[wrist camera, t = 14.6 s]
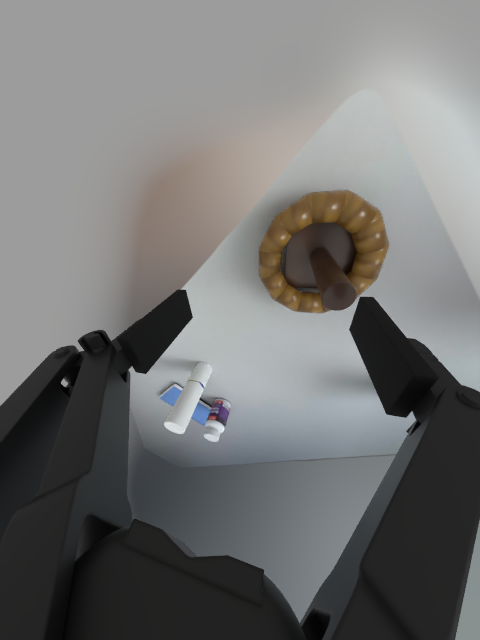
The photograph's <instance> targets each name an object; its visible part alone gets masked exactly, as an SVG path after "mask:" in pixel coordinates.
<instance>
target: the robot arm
mask: <svg viewBox="0 0 480 640" xmlns="http://www.w3.org/2000/svg"><path fill="white" fill-rule="evenodd" d="M192 318H193V316H192V312H191V309H190V305H189V301H188V297H187V293H186V290H177V291H176V292H174V293H173V294H172V295H171V296H169V297H168V298H167V299H166V300H164V301H163V302H162V303H161V304H160V305H158V306H157V307H156V308H154V309H153V310H152V311H151V312H149V313H148V314H147V315H146V316H144V317H143V318H142V319H140V320H138V321H136V322H135V323H134V324H133V325H132V326H130V327H129V328H128V329H127V330H125V331H124V332H123V333H121V334H120V335H119V336H118V337H116V338H115V339H114V340H112V341H111V340H110V339H109V337H108V335H107V334H106V332H105V331H103V330H97V331H93V332H90V333H88V334H86V335H84V336H82V337H81V338H80V339H79V340H78V342H79V344H80V345H81V347H82V348H83V349H84V351H81V352H79V351H78V350H77V348H76V347H75V346H66V347H61V348H59V349H57V350H56V351H54V352H52V353H51V354H50V355H49V356H48V357H47V358H46V359H45V360H44V361H43V362H42V363H41V364H40V365H39V366H38V367H37V368H36V369H35V370H34V371H33V372H32V374H31V375H30V376H29V377H28V378H27V379H26V380H25V381H24V382H23V383H22V384H21V385H20V386H19V387H18V388H17V389H16V390H15V391H14V393H12V395H11V396H10V397H9V398H8V399H7V400H6V401H5V402H4V403H3V404H2V405H1V406H0V640H455V637H456V632H457V626H458V622H459V617H460V612H461V607H462V603H463V597H464V593H465V588H466V583H467V578H468V573H469V568H470V563H471V558H472V553H473V549H474V544H475V539H476V534H477V529H478V524H479V520H480V392H478V391H476V390H474V389H472V388H469V387H466V386H462V385H461V384H460V383H459V382H458V381H457V380H456V379H455V378H454V377H453V376H452V375H451V373H450V372H449V371H448V370H447V369H446V368H445V367H444V366H443V365H442V363H441V362H438V359H437V358H436V357H435V356H434V355H432V354H433V353H432V352H431V351H430V350H429V349H428V348H427V347H426V346H425V345H424V344H422V343H420V342H419V341H417V340H416V339H410V338H406V336H405V335H404V334H403V333H402V332H401V330H400V329H399V328H398V327H397V325H396V324H395V323H394V322H393V321H392V319H391V318H390V317H389V316H388V314H387V313H386V312H385V311H384V310H383V308H382V307H381V306H380V305H379V303H378V302H377V301H376V300H375V299H374V297H360V299H359V302H358V305H357V308H356V311H355V314H354V317H353V320H352V323H351V326H350V329H349V330H350V332H351V334H352V337H353V339H354V341H355V343H356V346H357V348H358V350H359V353H360V355H361V357H362V359H363V362H364V364H365V366H366V369H367V371H368V373H369V375H370V378H371V380H372V382H373V385H374V387H375V389H376V391H377V394H378V396H379V398H380V401H381V403H382V405H383V408H384V410H385V412H386V414H387V415H393V416H399V417H405V418H406V417H407V416H408V415H409V414H410V412H411V411H412V410H413V412H414V414H415V415H416V417H417V420H416V421H415V422H414V423H413V425H412V426H411V427H410V428H409V429H408V430H407V431H406V432H408V435H407V437H406V438H405V440H404V442H403V444H402V446H401V447H400V449H399V451H398V453H397V455H396V457H395V459H394V460H393V462H392V464H391V466H390V468H389V469H388V471H387V473H386V475H385V476H384V478H383V480H382V482H381V484H380V486H379V487H378V489H377V491H376V493H375V495H374V497H373V498H372V500H371V502H370V504H369V506H368V507H367V509H366V511H365V513H364V515H363V516H362V518H361V520H360V522H359V524H358V525H357V527H356V529H355V531H354V533H353V535H352V537H351V538H350V540H349V542H348V544H347V545H346V547H345V549H344V551H343V553H342V555H341V556H340V558H339V560H338V562H337V564H336V565H335V567H334V569H333V570H332V572H331V574H330V575H329V576H328V577H327V579H326V580H325V581H324V583H323V584H322V586H321V587H320V589H319V590H318V592H317V594H316V595H315V597H314V599H313V601H312V603H311V604H310V606H309V608H308V610H307V612H306V613H305V615H304V617H303V619H302V620H301V622H300V623H299V622H298V619H297V617H296V616H295V614H294V612H293V611H292V608H291V606H290V605H289V603H288V602H287V600H286V599H285V598H284V596H283V594H282V593H281V591H280V590H279V589H278V588H277V587H276V586H275V584H274V583H273V582H272V581H271V580H270V579H269V578H268V577H266V576H265V575H264V570H263V569H261V568H258V567H255V566H253V565H250V564H248V563H245V562H243V561H240V560H238V559H235V558H233V557H230V556H208V557H197V556H196V555H195V554H194V553H193V552H192V551H191V550H190V549H189V548H188V547H187V546H186V545H185V544H184V543H183V542H182V541H180V540H179V539H177V538H175V537H174V536H172V535H170V534H169V533H167V532H165V531H164V530H162V529H160V528H157V527H155V526H152V525H150V524H147V523H145V522H142V521H139V520H137V519H134V520H133V522H132V511H131V506H130V504H129V501H128V497H127V475H128V439H129V405H130V372H129V370H128V369H129V368H130V367H131V366H133V368H134V370H135V371H136V372H138V373H144V374H146V373H147V372H148V371H149V370H150V368H151V367H152V366H153V365H154V364H155V362H156V361H157V360H158V359H159V358H160V356H161V355H162V354H163V353H164V352H165V350H166V349H167V348H168V347H169V346H170V344H171V343H172V342H173V341H174V339H175V338H176V337H177V336H178V335H179V333H180V332H181V331H182V330H183V329H184V327H185V326H186V325H187V324H188V323H189V321H190V320H191V319H192ZM63 378H64V379H65V380H66V381H67V382H68V385H67V386H66V387H64V386H63V385H62V384H61V381H62V380H63ZM75 560H76V561H75ZM263 577H264V579H263ZM262 590H263V592H262Z"/></svg>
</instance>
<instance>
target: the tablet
mask: <svg viewBox="0 0 480 640" xmlns="http://www.w3.org/2000/svg"><path fill="white" fill-rule="evenodd" d="M182 390H183V388H181V387H180V386H178V385H177V384H173V385H172V386H170V387H169V388H168V389H167V390H166V391H164V392H163V393H162V394H161V395H160V396H159V398H160V399H161V400H163V401H165V402H166V403H168V404H169V405H171V406H174V404H175V403H176V401H177V399H178V397H179V395H180V394H181V392H182ZM211 408H212V407H210V406H209V405H207V404H206V403H204V402H203V401H201V400H199V401H198V403H197V406H196V408H195V410H194V412H193V414H192V417H191V418H192V419H194V420H195V421H197V422H198V423H200V424H202V425H203V426H205V424H206V421H207V418H208V415H209V413H210V410H211Z"/></svg>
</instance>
